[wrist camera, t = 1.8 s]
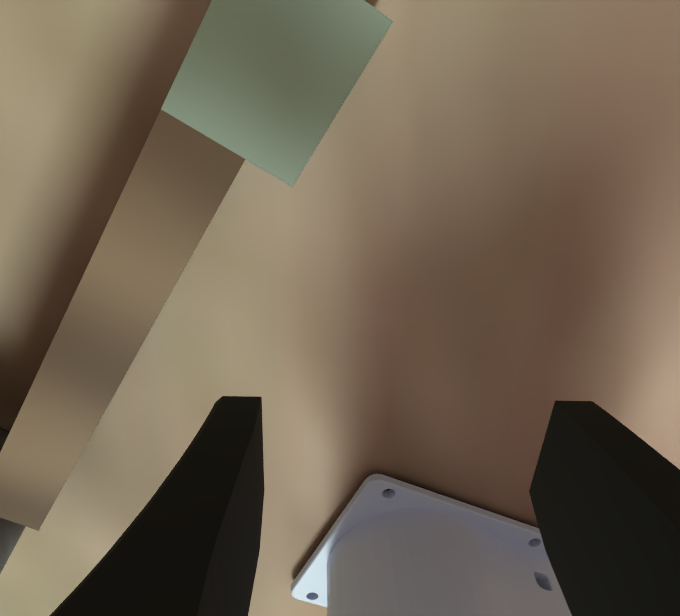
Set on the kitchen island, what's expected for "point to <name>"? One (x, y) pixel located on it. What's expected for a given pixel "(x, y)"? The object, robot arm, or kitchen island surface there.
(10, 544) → the fixed tong arm
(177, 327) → the kitchen island surface
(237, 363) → the kitchen island surface
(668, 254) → the kitchen island surface
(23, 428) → the bar
